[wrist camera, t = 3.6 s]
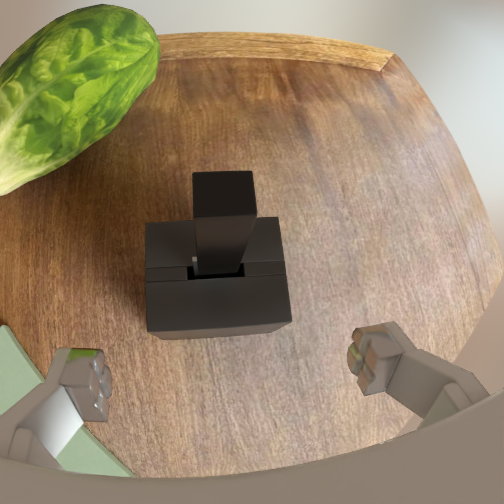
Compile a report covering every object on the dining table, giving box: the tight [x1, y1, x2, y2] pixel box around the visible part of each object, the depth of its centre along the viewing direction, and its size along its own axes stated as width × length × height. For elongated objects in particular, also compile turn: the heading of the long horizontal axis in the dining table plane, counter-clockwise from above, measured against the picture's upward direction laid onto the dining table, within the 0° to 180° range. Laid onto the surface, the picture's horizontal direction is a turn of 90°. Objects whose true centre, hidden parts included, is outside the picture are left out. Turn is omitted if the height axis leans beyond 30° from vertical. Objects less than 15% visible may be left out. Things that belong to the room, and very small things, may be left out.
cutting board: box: [0, 325, 137, 477], centre depth 22 cm, size 20×13×1 cm, turn 48°
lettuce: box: [0, 4, 161, 196], centre depth 26 cm, size 15×27×16 cm, turn 148°
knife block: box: [145, 217, 292, 340], centre depth 26 cm, size 8×10×8 cm
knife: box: [192, 171, 257, 280], centre depth 21 cm, size 2×3×18 cm, turn 96°
